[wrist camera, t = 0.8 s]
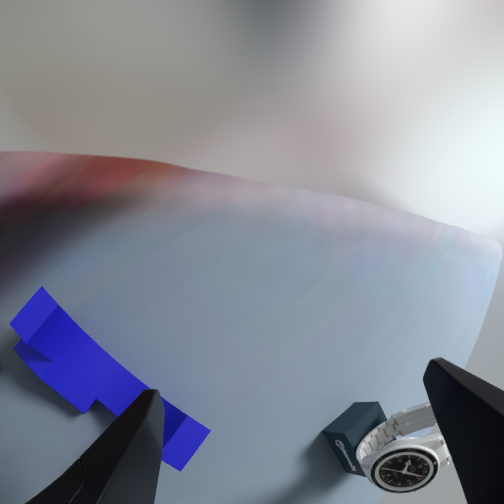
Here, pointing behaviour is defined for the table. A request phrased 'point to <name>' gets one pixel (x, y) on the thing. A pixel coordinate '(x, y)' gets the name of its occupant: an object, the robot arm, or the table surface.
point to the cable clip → (92, 373)
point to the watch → (388, 446)
